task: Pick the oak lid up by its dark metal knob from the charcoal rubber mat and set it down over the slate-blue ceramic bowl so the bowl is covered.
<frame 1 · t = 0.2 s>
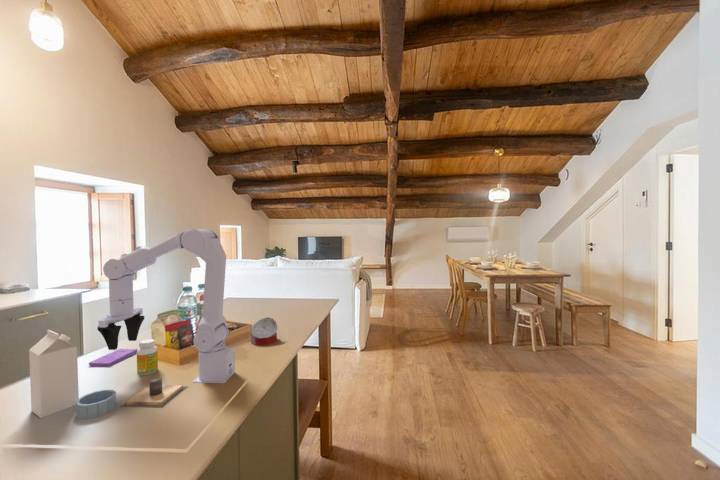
hand: (123, 344, 99), 10 cm above the kitchen island, tool pointing down, fingers open, 7 cm apart
ceramic bowl: (96, 411, 81), on the kitchen island
supplement bottle: (147, 373, 103), on the kitchen island
canned food: (264, 341, 131), on the kitchen island
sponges: (114, 361, 114), on the kitchen island
rubber mat: (156, 397, 87), on the kitchen island
oak lid: (155, 395, 87), resting on rubber mat
milk carton: (55, 409, 82), on the kitchen island
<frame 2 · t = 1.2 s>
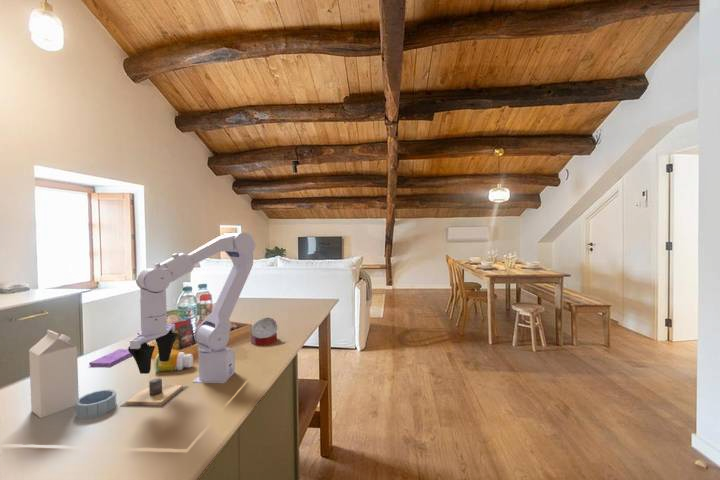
hand: (155, 366, 87), 8 cm above the kitchen island, tool pointing down, fingers open, 7 cm apart
supplement bottle: (157, 362, 104), point 3 cm above the kitchen island
everything else where it was.
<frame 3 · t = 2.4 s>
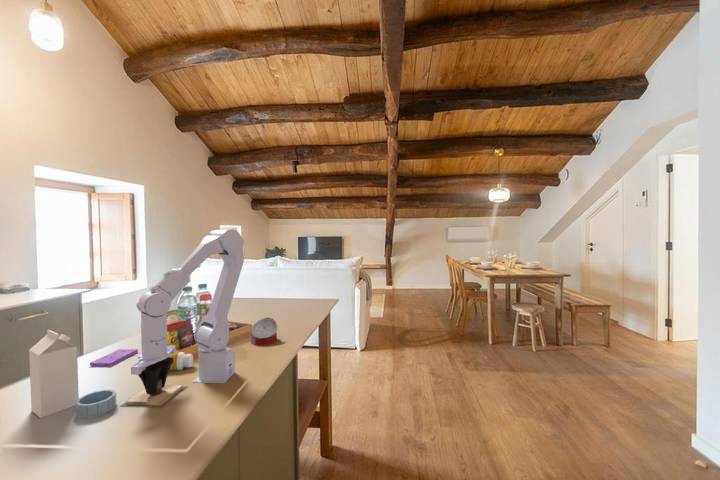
hand: (155, 390, 87), 2 cm above the kitchen island, tool pointing down, fingers closed on oak lid, 3 cm apart
oak lid: (155, 395, 87), resting on rubber mat, touching gripper
everything else where it was.
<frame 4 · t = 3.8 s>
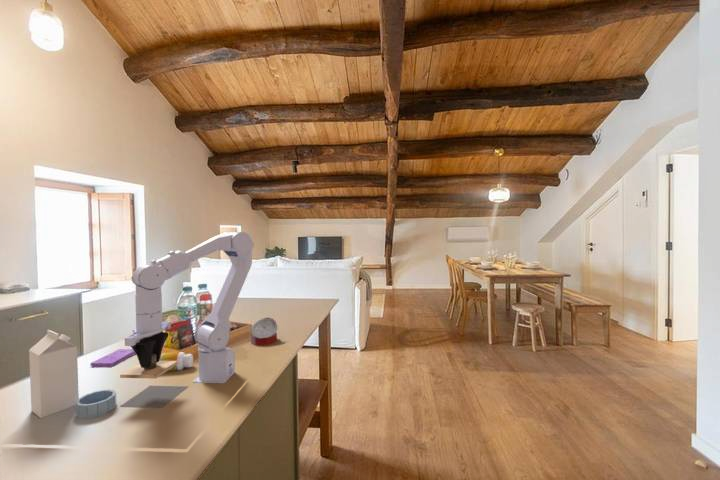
hand: (150, 364, 86), 9 cm above the kitchen island, tool pointing down, fingers closed on oak lid, 3 cm apart
oak lid: (150, 370, 86), point 7 cm above the kitchen island, touching gripper
everything else where it was.
when the fingers open (7 cm above the kitchen island, at t = 5.1 s): oak lid drops 2 cm, resting on ceramic bowl.
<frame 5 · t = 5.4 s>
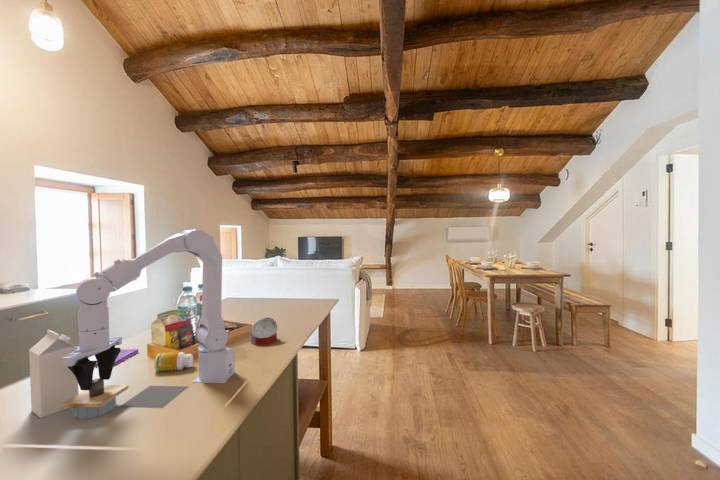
hand: (95, 384, 80), 7 cm above the kitchen island, tool pointing down, fingers open, 5 cm apart
oak lid: (96, 397, 81), point 3 cm above the kitchen island, touching ceramic bowl
everything else where it was.
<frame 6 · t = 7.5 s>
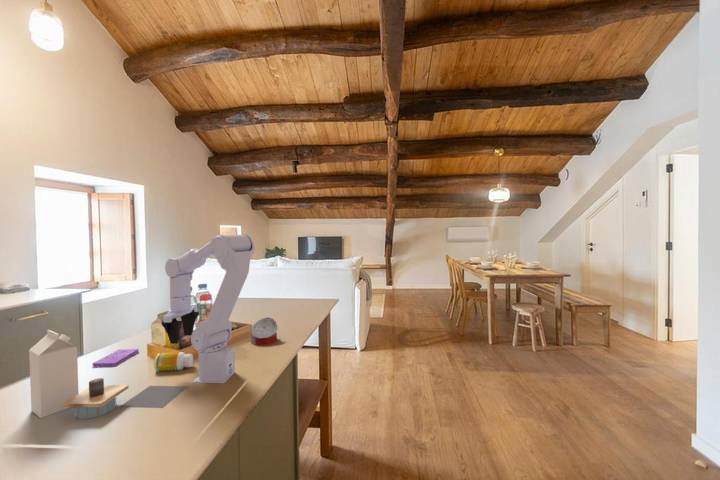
hand: (181, 339, 105), 9 cm above the kitchen island, tool pointing down, fingers open, 7 cm apart
nothing on the kitchen island moved.
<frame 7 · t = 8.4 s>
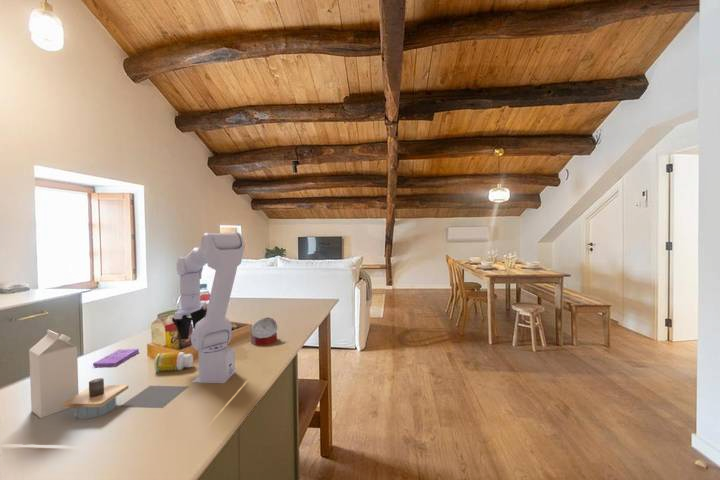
hand: (191, 335, 109), 9 cm above the kitchen island, tool pointing down, fingers open, 7 cm apart
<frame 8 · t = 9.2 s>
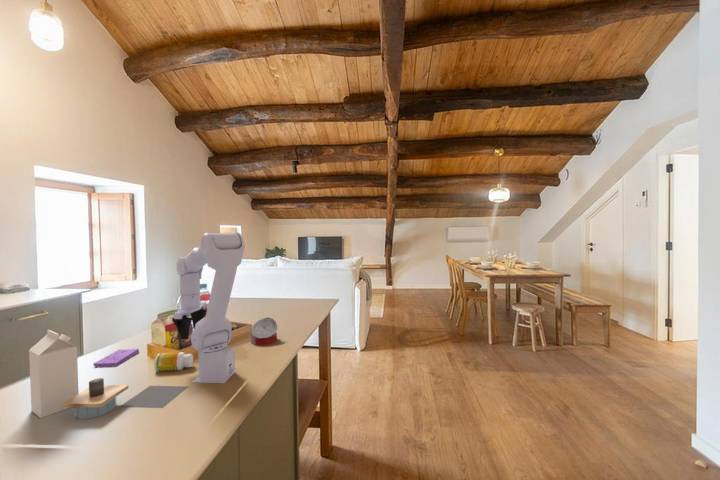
hand: (191, 335, 109), 9 cm above the kitchen island, tool pointing down, fingers open, 7 cm apart
at the end: oak lid 0.1 cm off-centre on the ceramic bowl, point 3.5 cm above the ceramic bowl's base; oak lid tilted 0°; the gripper is holding nothing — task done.
